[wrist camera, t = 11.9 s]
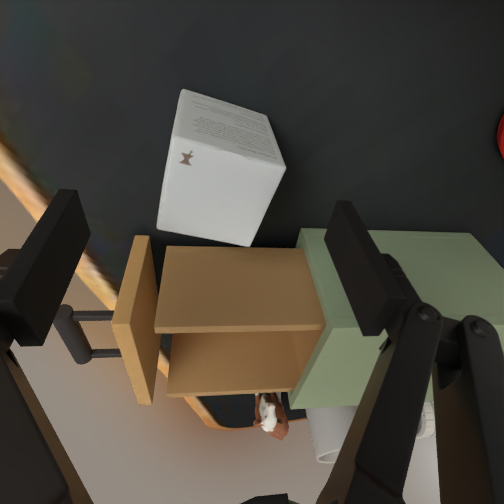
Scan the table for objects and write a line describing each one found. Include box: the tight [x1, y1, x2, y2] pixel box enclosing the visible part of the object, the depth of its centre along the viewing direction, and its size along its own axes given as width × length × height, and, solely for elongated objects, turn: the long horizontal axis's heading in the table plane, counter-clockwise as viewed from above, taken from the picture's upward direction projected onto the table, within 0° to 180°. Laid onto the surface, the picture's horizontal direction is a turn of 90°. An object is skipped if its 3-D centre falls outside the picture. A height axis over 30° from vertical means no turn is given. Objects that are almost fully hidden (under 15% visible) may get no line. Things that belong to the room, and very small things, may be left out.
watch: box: [416, 401, 436, 438], centre depth 47 cm, size 6×8×11 cm
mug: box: [305, 406, 358, 463], centre depth 55 cm, size 11×10×10 cm
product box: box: [157, 89, 286, 247], centre depth 20 cm, size 6×6×7 cm
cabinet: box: [288, 228, 504, 409], centre depth 31 cm, size 18×15×11 cm
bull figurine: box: [253, 392, 289, 440], centre depth 50 cm, size 4×13×8 cm, turn 13°
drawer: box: [53, 235, 326, 405], centre depth 29 cm, size 22×14×9 cm, turn 84°
